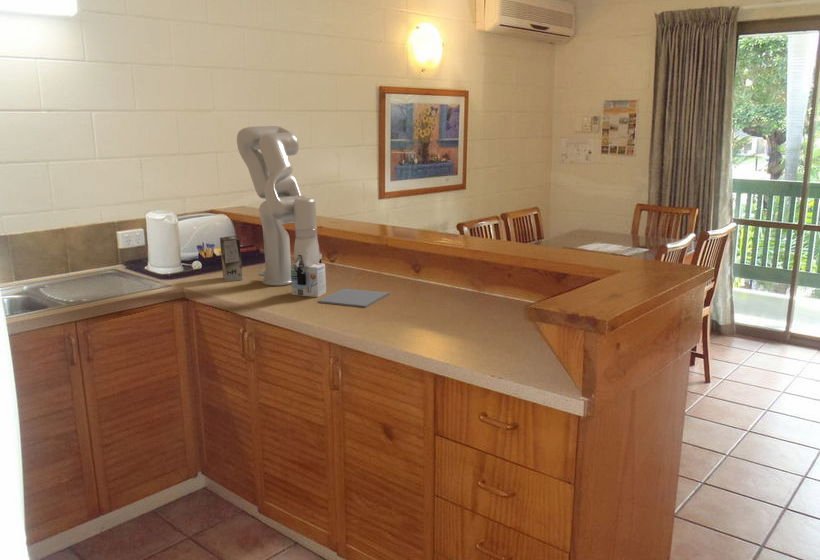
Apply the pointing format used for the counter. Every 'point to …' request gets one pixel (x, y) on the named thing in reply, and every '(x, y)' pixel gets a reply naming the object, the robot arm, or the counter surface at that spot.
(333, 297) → the mat
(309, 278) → the light bulb box
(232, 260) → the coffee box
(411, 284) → the counter surface
